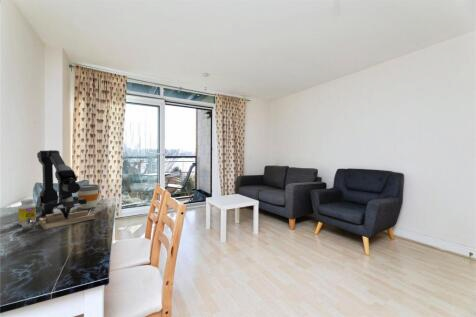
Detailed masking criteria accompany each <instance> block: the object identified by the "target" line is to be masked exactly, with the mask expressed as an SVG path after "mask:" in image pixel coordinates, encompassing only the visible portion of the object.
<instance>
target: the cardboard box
mask: <svg viewBox="0 0 476 317" xmlns="http://www.w3.org/2000/svg"><path fill="white" fill-rule="evenodd" d="M45 218H46V223H51V222H56V221H62V220H64V219H63V214H62V212H54V213H53V214H49V215H46V216H45Z"/></svg>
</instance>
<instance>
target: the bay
mask: <svg viewBox="0 0 476 317" xmlns="http://www.w3.org/2000/svg"><path fill="white" fill-rule="evenodd" d="M88 213H89V211H88V210H82V211H81V210H80V211H76V212H71V213H70V212H69V215H68V217H67V219H65V218H64V216H63V220H62V221H56V222H51V223H46V217H39V218H38V220H39V221H38V222H39V225H40V226H41V228H42V229H43V230H48V229H53V228H57V227H62V226H66V225H67V226H68V225H72V224H77V223H81V222H86V221H91V220H95V214H94V213H93V214H88Z"/></svg>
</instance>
